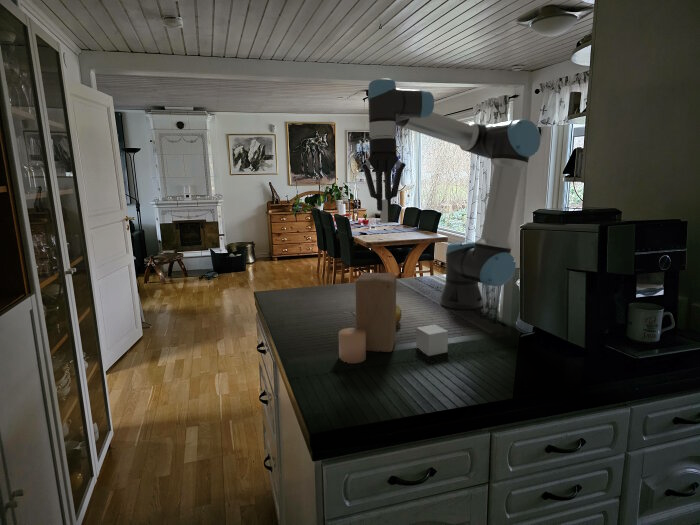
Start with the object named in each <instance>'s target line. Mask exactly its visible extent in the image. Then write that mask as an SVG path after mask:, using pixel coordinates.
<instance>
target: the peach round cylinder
mask: <svg viewBox="0 0 700 525" xmlns="http://www.w3.org/2000/svg"><path fill="white" fill-rule="evenodd" d="M339 358H340V359H341V360H342V361H344V362H343V363H345V362H347V363H346V364H359V363H362V362H364V361H365V360H366V359H367V351H366V331H365V330H363V329H359V328H356V327H347V328H343V329H339V331H338V359H339ZM340 359H339V360H340ZM341 360H340V361H341ZM342 361H341V362H342Z"/></svg>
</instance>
